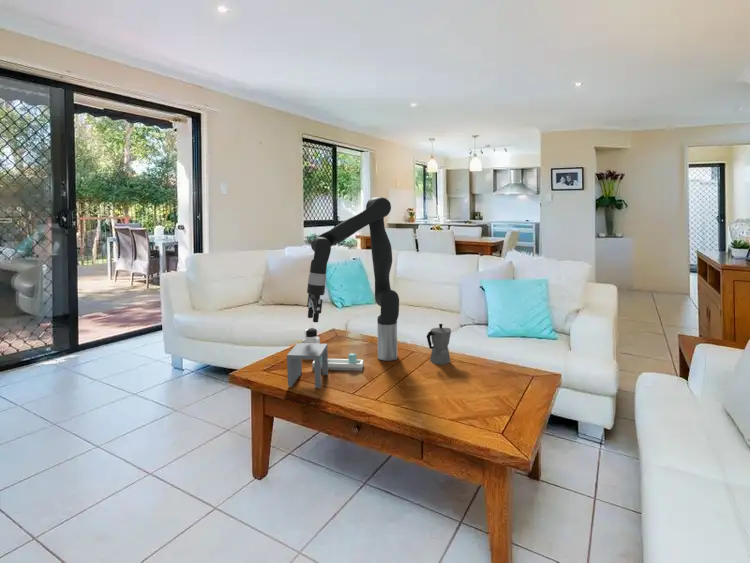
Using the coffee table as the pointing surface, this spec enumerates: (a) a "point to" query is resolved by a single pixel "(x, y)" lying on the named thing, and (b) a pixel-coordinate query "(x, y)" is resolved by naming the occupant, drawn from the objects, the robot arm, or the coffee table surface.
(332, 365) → the tray
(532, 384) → the coffee table surface
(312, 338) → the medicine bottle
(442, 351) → the coffeepot
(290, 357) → the grey stand
